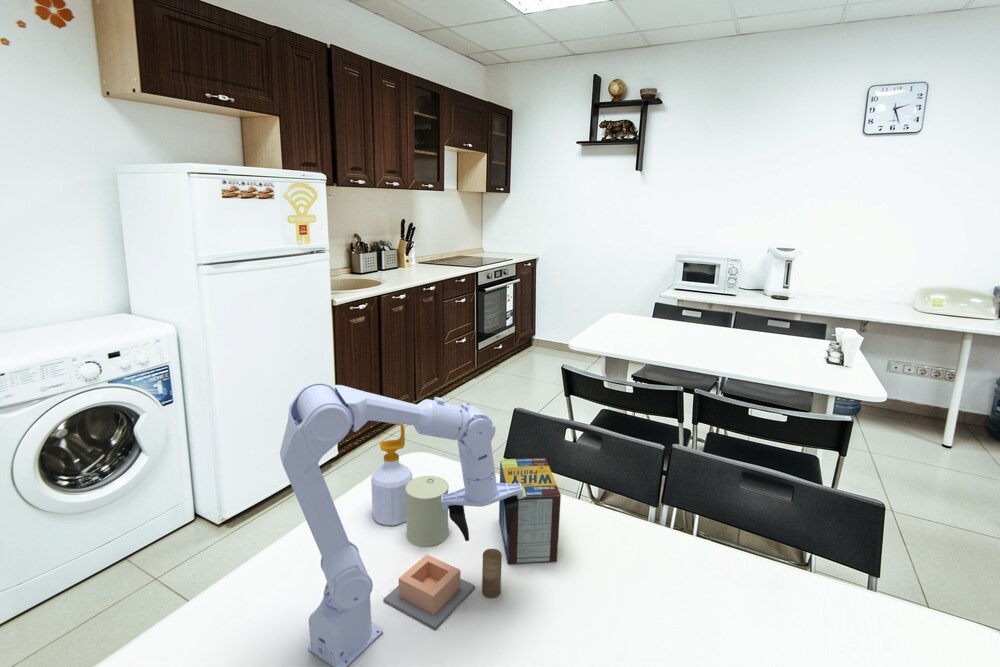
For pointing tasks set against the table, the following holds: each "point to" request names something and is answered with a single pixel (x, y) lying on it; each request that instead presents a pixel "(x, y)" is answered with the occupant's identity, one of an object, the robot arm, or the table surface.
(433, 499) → the can
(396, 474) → the soap bottle
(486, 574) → the walnut peg
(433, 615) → the terracotta holder
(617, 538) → the table surface
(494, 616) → the table surface
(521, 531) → the protein box
